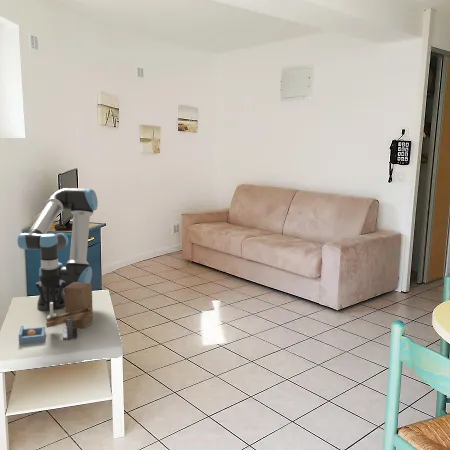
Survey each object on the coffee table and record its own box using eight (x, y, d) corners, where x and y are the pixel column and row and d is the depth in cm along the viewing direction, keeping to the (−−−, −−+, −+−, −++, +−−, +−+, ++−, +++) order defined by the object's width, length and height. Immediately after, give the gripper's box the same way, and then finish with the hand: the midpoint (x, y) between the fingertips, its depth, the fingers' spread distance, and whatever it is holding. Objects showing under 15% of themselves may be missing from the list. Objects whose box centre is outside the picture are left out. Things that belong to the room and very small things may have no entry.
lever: (46, 328, 213) (45, 321, 213) (48, 317, 226) (46, 310, 225) (92, 316, 219) (90, 309, 218) (90, 306, 231) (89, 299, 230)
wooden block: (83, 329, 227) (82, 289, 223) (64, 327, 229) (63, 287, 225) (93, 321, 237) (92, 282, 233) (75, 319, 239) (73, 281, 235)
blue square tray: (21, 335, 219) (20, 325, 218) (45, 332, 222) (44, 323, 221) (19, 344, 209) (18, 334, 208) (44, 341, 212) (43, 332, 211)
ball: (37, 333, 218) (30, 337, 217) (33, 327, 216) (26, 331, 216) (37, 336, 214) (29, 340, 213) (32, 330, 213) (25, 334, 212)
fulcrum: (63, 340, 214) (62, 321, 213) (63, 330, 225) (62, 312, 223) (77, 338, 216) (76, 319, 215) (76, 329, 226) (76, 311, 225)
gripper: (34, 270, 213) (36, 320, 217) (64, 269, 217) (66, 318, 221) (35, 266, 220) (37, 314, 224) (64, 264, 224) (66, 312, 228)
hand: (51, 316), depth 223 cm, fingers closed
